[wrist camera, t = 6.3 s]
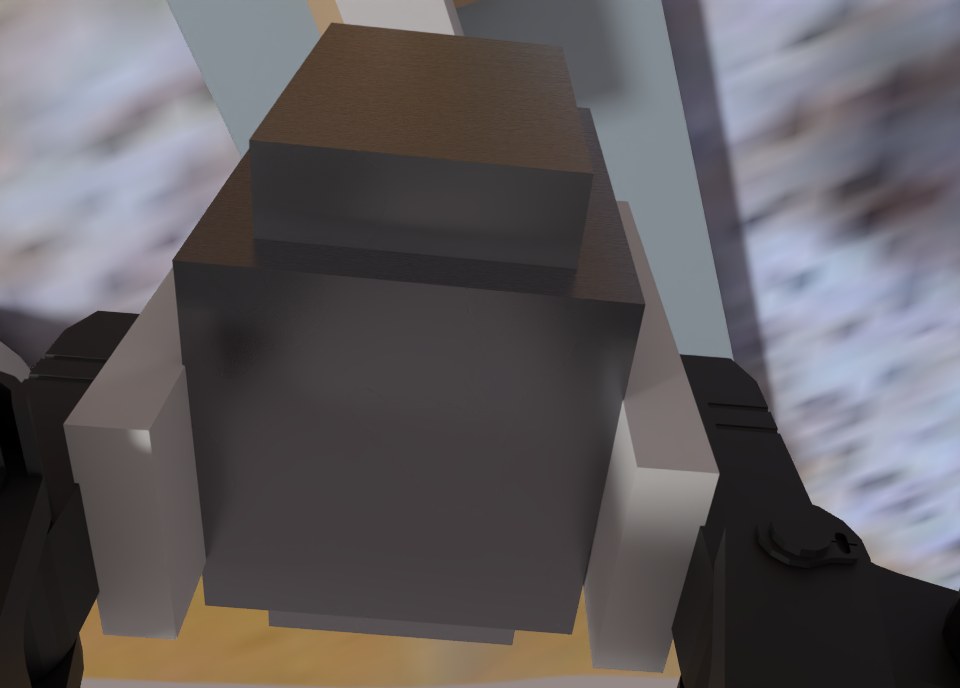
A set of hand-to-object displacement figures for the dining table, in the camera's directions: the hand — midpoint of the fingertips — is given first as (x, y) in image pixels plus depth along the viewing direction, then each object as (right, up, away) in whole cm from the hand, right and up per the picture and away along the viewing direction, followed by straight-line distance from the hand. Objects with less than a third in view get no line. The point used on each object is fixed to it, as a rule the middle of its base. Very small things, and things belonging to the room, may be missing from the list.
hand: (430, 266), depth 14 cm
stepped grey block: (0, +1, 0) cm, 1 cm away
